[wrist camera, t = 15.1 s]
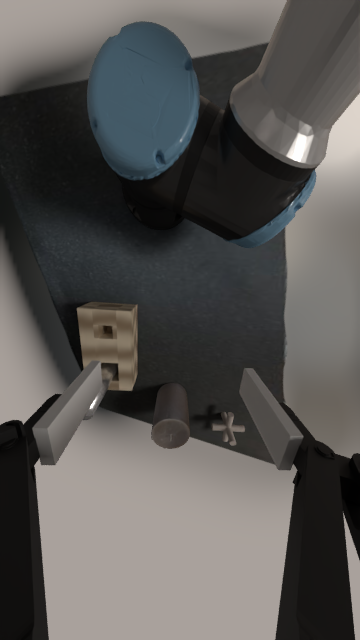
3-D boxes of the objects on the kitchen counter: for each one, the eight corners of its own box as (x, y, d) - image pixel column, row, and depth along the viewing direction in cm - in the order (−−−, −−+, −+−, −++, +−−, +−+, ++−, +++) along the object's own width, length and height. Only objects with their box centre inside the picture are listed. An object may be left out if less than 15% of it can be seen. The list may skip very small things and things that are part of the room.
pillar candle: (191, 401, 56) (196, 447, 42) (163, 410, 57) (159, 458, 42) (180, 378, 53) (182, 418, 39) (151, 388, 54) (143, 431, 40)
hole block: (91, 301, 45) (76, 308, 38) (137, 304, 46) (130, 311, 39) (97, 372, 52) (85, 388, 45) (137, 374, 52) (131, 390, 46)
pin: (107, 353, 48) (70, 402, 31) (121, 354, 48) (92, 403, 31) (108, 366, 49) (72, 419, 32) (122, 366, 50) (94, 420, 32)
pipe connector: (234, 425, 60) (246, 456, 50) (206, 424, 59) (212, 454, 50) (240, 403, 57) (254, 430, 47) (211, 401, 56) (218, 428, 47)
